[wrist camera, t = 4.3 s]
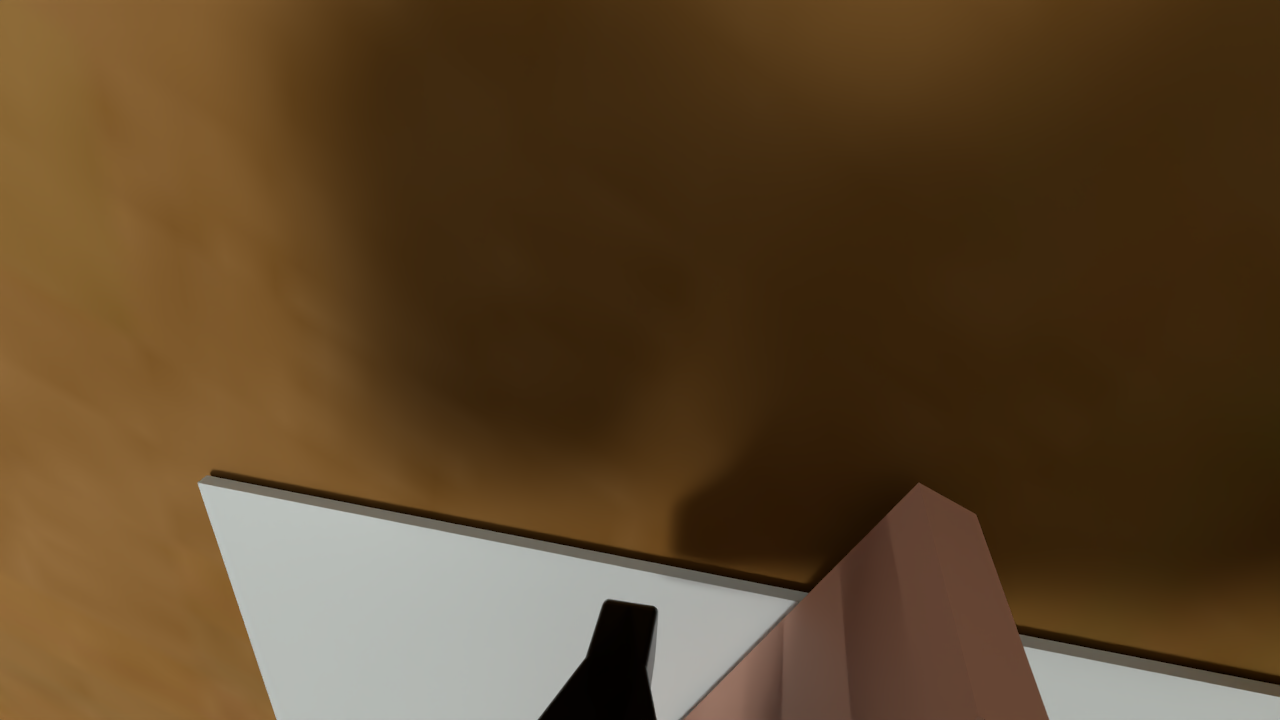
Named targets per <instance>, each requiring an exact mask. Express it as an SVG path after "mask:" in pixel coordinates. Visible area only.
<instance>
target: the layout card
mask: <svg viewBox="0 0 1280 720" xmlns="http://www.w3.org/2000/svg"><path fill="white" fill-rule="evenodd" d="M198 486H199V489H200V492H201V495H202V498H203V501H204V504H205V507H206V510H207V513H208V516H209V519H210V522H211V525H212V528H213V531H214V534H215V537H216V540H217V543H218V546H219V548H220V551H221V554H222V557H223V560H224V563H225V566H226V569H227V572H228V575H229V578H230V581H231V584H232V587H233V590H234V593H235V596H236V599H237V602H238V605H239V608H240V611H241V614H242V617H243V620H244V623H245V626H246V629H247V632H248V635H249V638H250V641H251V644H252V647H253V650H254V653H255V656H256V659H257V662H258V665H259V668H260V671H261V674H262V677H263V680H264V683H265V686H266V689H267V692H268V695H269V698H270V701H271V704H272V707H273V710H274V713H275V716H276V719H277V720H538V718H539V717H540V716H541V714H542V713H543V712H544V711H545V709H546V708H547V707H548V705H549V704H550V703H551V701H552V700H553V699H554V698H555V696H556V695H557V694H558V692H559V691H560V690H561V688H562V687H563V686H564V685H565V683H566V682H567V681H568V679H569V678H570V677H571V675H572V674H573V673H574V672H575V670H576V669H577V668H578V666H579V665H580V664H581V662H582V661H583V660H584V659H585V657H586V654H587V651H588V648H589V645H590V642H591V638H592V635H593V632H594V629H595V626H596V623H597V619H598V616H599V613H600V610H601V607H602V604H603V602H604V601H605V600H607V599H613V600H619V601H626V602H631V603H639V604H645V605H652V606H655V607H656V608H657V609H658V626H657V639H656V652H655V661H654V669H653V676H652V683H651V692H652V697H653V702H654V708H655V713H656V718H657V720H684V719H685V718H686V716H687V715H688V714H689V713H690V712H691V711H692V710H693V709H694V708H695V707H696V706H697V705H698V704H699V703H700V702H701V701H702V700H703V699H704V698H705V697H706V696H707V695H708V694H709V693H710V692H711V691H712V690H713V689H714V688H715V687H716V686H717V685H718V684H719V683H720V682H721V681H722V680H723V679H724V678H725V677H726V676H727V675H728V674H729V673H730V672H731V671H732V670H733V669H734V668H735V667H736V666H737V665H738V664H739V663H740V662H741V661H742V660H743V659H744V658H745V657H746V656H747V655H748V654H749V653H750V652H751V651H752V650H753V649H754V648H755V647H756V646H757V645H758V644H759V643H760V642H761V641H762V640H763V639H764V638H765V637H766V636H767V635H768V634H769V633H770V632H771V631H772V630H773V629H774V628H775V627H776V626H777V625H778V624H779V623H780V622H781V621H782V620H783V619H784V618H785V617H786V616H787V615H788V614H789V613H790V612H791V611H792V610H793V609H794V608H795V607H796V606H797V605H798V604H799V603H800V602H801V601H802V600H803V599H804V598H805V597H806V596H807V595H808V593H806V592H801V591H796V590H790V589H785V588H780V587H775V586H770V585H765V584H760V583H755V582H750V581H744V580H739V579H734V578H729V577H724V576H719V575H714V574H709V573H704V572H698V571H693V570H688V569H683V568H678V567H673V566H668V565H663V564H658V563H653V562H647V561H642V560H637V559H632V558H627V557H622V556H617V555H612V554H607V553H601V552H596V551H591V550H586V549H581V548H576V547H571V546H566V545H561V544H555V543H550V542H545V541H540V540H535V539H530V538H525V537H520V536H515V535H509V534H504V533H499V532H494V531H489V530H484V529H479V528H474V527H469V526H463V525H458V524H453V523H448V522H443V521H438V520H433V519H428V518H423V517H417V516H412V515H407V514H402V513H397V512H392V511H387V510H382V509H377V508H371V507H366V506H361V505H356V504H351V503H346V502H341V501H336V500H331V499H325V498H320V497H315V496H310V495H305V494H300V493H295V492H290V491H285V490H279V489H274V488H269V487H264V486H259V485H254V484H249V483H244V482H239V481H233V480H228V479H223V478H218V477H213V476H208V475H207V476H205V477H204V478H203V479H202V480H200V481H199V482H198ZM1019 636H1020V639H1021V642H1022V645H1023V647H1024V650H1025V653H1026V656H1027V659H1028V661H1029V664H1030V667H1031V670H1032V673H1033V675H1034V678H1035V681H1036V684H1037V687H1038V690H1039V692H1040V695H1041V698H1042V701H1043V704H1044V706H1045V709H1046V712H1047V715H1048V718H1049V720H1280V685H1276V684H1271V683H1266V682H1261V681H1255V680H1250V679H1245V678H1240V677H1235V676H1230V675H1225V674H1220V673H1215V672H1209V671H1204V670H1199V669H1194V668H1189V667H1184V666H1179V665H1174V664H1169V663H1164V662H1158V661H1153V660H1148V659H1143V658H1138V657H1133V656H1128V655H1123V654H1118V653H1112V652H1107V651H1102V650H1097V649H1092V648H1087V647H1082V646H1077V645H1072V644H1066V643H1061V642H1056V641H1051V640H1046V639H1041V638H1036V637H1031V636H1026V635H1020V634H1019Z"/></svg>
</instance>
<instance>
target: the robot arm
mask: <svg viewBox="0 0 1280 720" xmlns="http://www.w3.org/2000/svg"><path fill="white" fill-rule="evenodd" d="M657 626H658V609H657V608H656V607H655V606H652V605H645V604H639V603H631V602H626V601H619V600H613V599H607V600H605V601H604V602H603V604H602V607H601V610H600V613H599V616H598V619H597V623H596V626H595V629H594V632H593V635H592V638H591V642H590V645H589V648H588V651H587V654H586V657H585V659H584V660H583V661H582V662H581V664H580V665H579V666H578V668H577V669H576V670H575V672H574V673H573V674H572V675H571V677H570V678H569V679H568V681H567V682H566V683H565V685H564V686H563V687H562V688H561V690H560V691H559V692H558V694H557V695H556V696H555V698H554V699H553V700H552V701H551V703H550V704H549V705H548V707H547V708H546V709H545V711H544V712H543V713H542V714H541V716H540V717H539V718H538V720H657V718H656V713H655V708H654V702H653V697H652V692H651V683H652V676H653V669H654V661H655V652H656V639H657Z"/></svg>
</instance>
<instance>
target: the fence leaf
mask: <svg viewBox="0 0 1280 720" xmlns="http://www.w3.org/2000/svg"><path fill="white" fill-rule="evenodd" d="M684 720H1049V718H1048V715H1047V712H1046V709H1045V706H1044V704H1043V701H1042V698H1041V695H1040V692H1039V690H1038V687H1037V684H1036V681H1035V678H1034V675H1033V673H1032V670H1031V667H1030V664H1029V661H1028V659H1027V656H1026V653H1025V650H1024V647H1023V645H1022V642H1021V639H1020V636H1019V633H1018V630H1017V628H1016V625H1015V622H1014V619H1013V616H1012V614H1011V611H1010V608H1009V605H1008V602H1007V600H1006V597H1005V594H1004V591H1003V588H1002V585H1001V583H1000V580H999V577H998V574H997V571H996V569H995V566H994V563H993V560H992V557H991V555H990V552H989V549H988V546H987V543H986V541H985V538H984V535H983V532H982V529H981V526H980V524H979V521H978V518H977V515H976V514H975V513H973V512H971V511H969V510H967V509H966V508H964V507H962V506H960V505H958V504H957V503H955V502H953V501H951V500H949V499H948V498H946V497H944V496H942V495H940V494H939V493H937V492H935V491H933V490H931V489H930V488H928V487H926V486H924V485H922V484H921V483H918V484H917V485H916V486H915V487H914V488H913V489H912V490H911V491H910V492H909V493H908V494H907V495H906V496H905V497H904V498H903V499H902V500H901V501H900V502H899V503H898V504H897V505H896V506H895V507H894V508H893V509H892V510H891V511H890V512H889V513H888V514H887V515H886V516H885V517H884V518H883V519H882V520H881V521H880V522H879V523H878V524H877V525H876V526H875V527H874V528H873V529H872V530H871V531H870V532H869V533H868V534H867V535H866V536H865V537H864V538H863V539H862V540H861V541H860V542H859V543H858V544H857V545H856V546H855V547H854V548H853V549H852V550H851V551H850V552H849V553H848V554H847V555H846V556H845V557H844V558H843V559H842V560H841V561H840V562H839V563H838V564H837V565H836V566H835V567H834V568H833V569H832V570H831V571H830V572H829V573H828V574H827V575H826V576H825V577H824V578H823V579H822V580H821V581H820V582H819V583H818V584H817V585H816V586H815V587H814V588H813V589H812V590H811V591H810V592H809V593H808V595H807V596H806V597H805V598H804V599H803V600H802V601H801V602H800V603H799V604H798V605H797V606H796V607H795V608H794V609H793V610H792V611H791V612H790V613H789V614H788V615H787V616H786V617H785V618H784V619H783V620H782V621H781V622H780V623H779V624H778V625H777V626H776V627H775V628H774V629H773V630H772V631H771V632H770V633H769V634H768V635H767V636H766V637H765V638H764V639H763V640H762V641H761V642H760V643H759V644H758V645H757V646H756V647H755V648H754V649H753V650H752V651H751V652H750V653H749V654H748V655H747V656H746V657H745V658H744V659H743V660H742V661H741V662H740V663H739V664H738V665H737V666H736V667H735V668H734V669H733V670H732V671H731V672H730V673H729V674H728V675H727V676H726V677H725V678H724V679H723V680H722V681H721V682H720V683H719V684H718V685H717V686H716V687H715V688H714V689H713V690H712V691H711V692H710V693H709V694H708V695H707V696H706V697H705V698H704V699H703V700H702V701H701V702H700V703H699V704H698V705H697V706H696V707H695V708H694V709H693V710H692V711H691V712H690V713H689V714H688V715H687V716H686V718H685V719H684Z"/></svg>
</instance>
